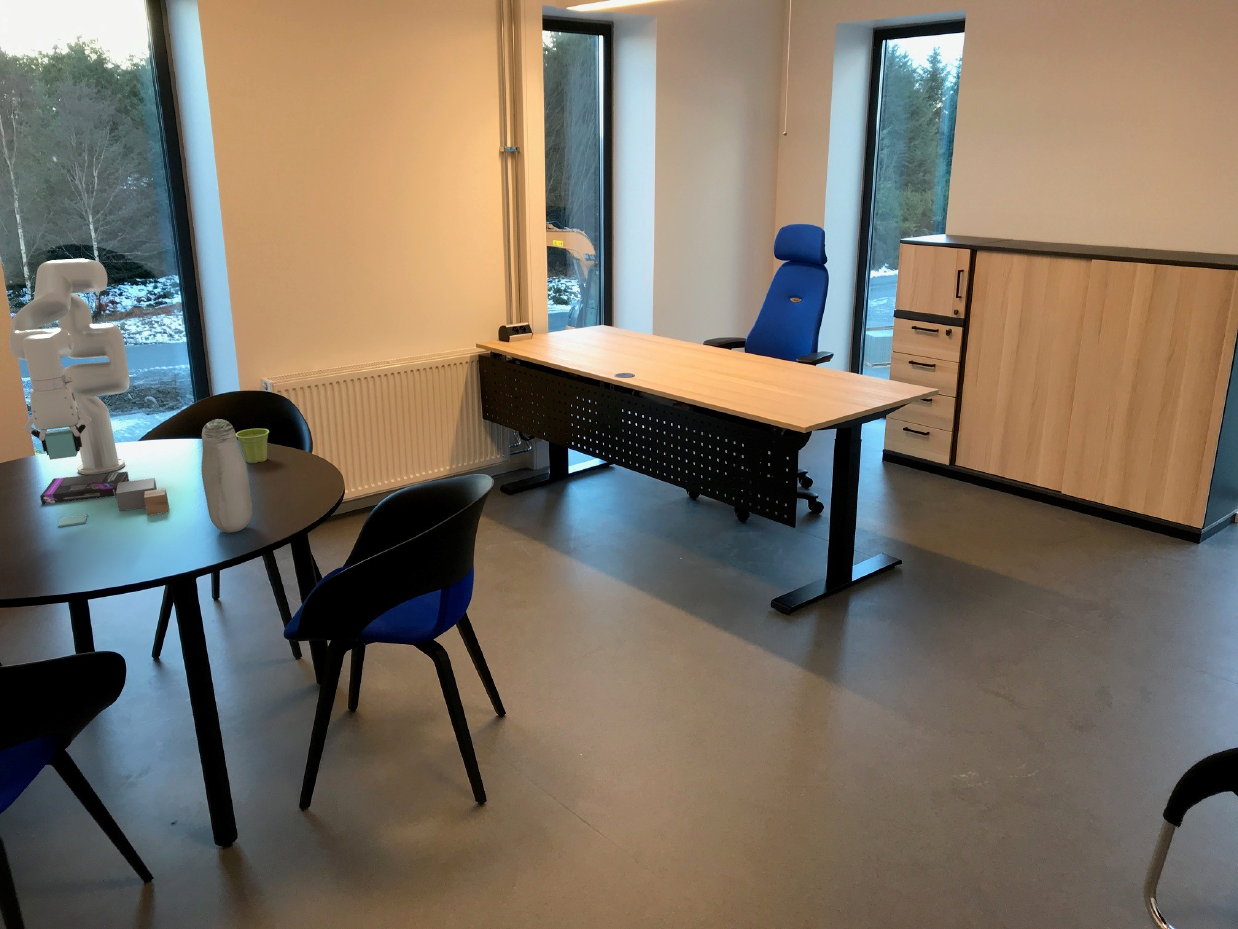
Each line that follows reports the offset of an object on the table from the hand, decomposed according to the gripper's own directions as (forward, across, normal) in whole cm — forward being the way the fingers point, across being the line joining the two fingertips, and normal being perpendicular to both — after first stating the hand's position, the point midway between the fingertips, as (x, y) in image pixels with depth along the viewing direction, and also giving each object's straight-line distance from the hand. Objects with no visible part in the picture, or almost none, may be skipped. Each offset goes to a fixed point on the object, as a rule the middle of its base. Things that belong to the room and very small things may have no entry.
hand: (63, 451), depth 255 cm
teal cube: (+1, 0, 0) cm, 1 cm away
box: (+18, -1, -16) cm, 24 cm away
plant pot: (+17, -46, -24) cm, 55 cm away
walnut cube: (+17, -20, +9) cm, 28 cm away
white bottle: (+16, -38, +32) cm, 53 cm away
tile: (+17, 0, +8) cm, 18 cm away
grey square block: (+17, -15, 0) cm, 22 cm away
